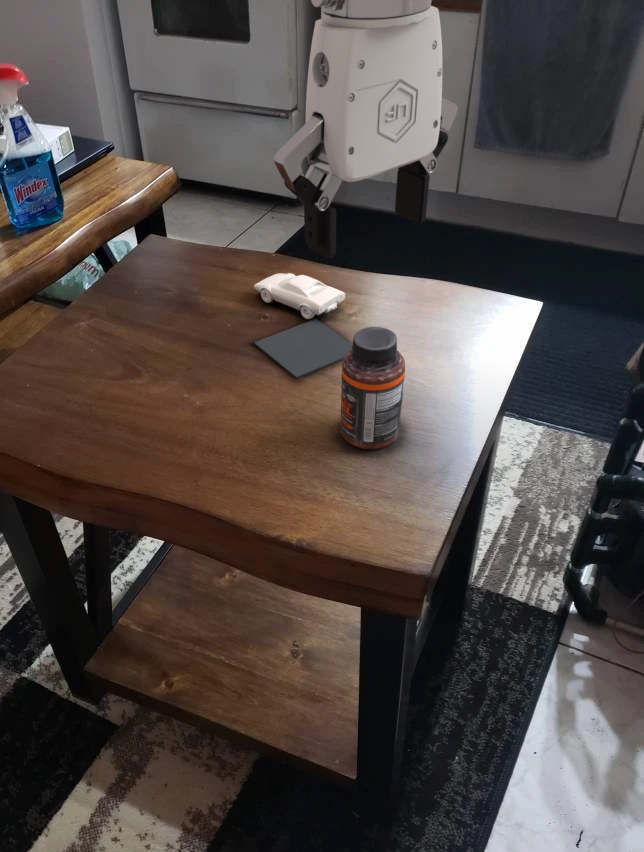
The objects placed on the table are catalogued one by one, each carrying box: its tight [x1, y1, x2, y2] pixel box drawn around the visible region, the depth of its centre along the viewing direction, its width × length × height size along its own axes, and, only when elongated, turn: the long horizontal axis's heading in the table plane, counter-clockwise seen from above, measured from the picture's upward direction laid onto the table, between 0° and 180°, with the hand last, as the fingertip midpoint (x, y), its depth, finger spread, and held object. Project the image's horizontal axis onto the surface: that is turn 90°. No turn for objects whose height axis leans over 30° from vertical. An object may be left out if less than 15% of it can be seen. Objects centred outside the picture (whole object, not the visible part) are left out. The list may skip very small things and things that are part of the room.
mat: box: [253, 318, 353, 379], centre depth 88 cm, size 9×9×1 cm
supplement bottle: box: [340, 326, 406, 450], centre depth 72 cm, size 6×6×11 cm
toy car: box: [253, 272, 346, 320], centre depth 94 cm, size 6×12×3 cm, turn 47°
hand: (366, 234), depth 63 cm, fingers open, 9 cm apart
